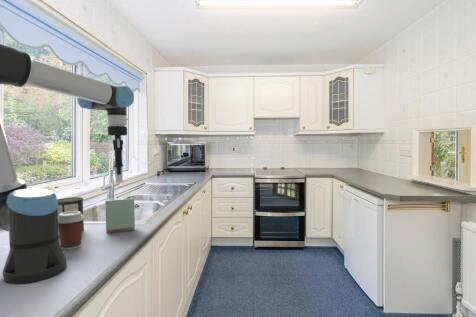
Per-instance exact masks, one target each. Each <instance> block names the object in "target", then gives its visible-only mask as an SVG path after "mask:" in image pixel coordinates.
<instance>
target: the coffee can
mask: <svg viewBox="0 0 476 317" xmlns="http://www.w3.org/2000/svg"><path fill="white" fill-rule="evenodd" d="M83 200H84V198H83V197H79V196H78V197H76V196H75V197H64V198H59V199H58V198H57V202H58V217H59V214H60V213H63V212H69V211H80V212H81V214H82V215H83V216H84V202H83ZM84 220H85V219H84ZM84 220H83V221H82V235H83V234H84V233H85V224H84ZM58 235H59V229H58ZM59 238H60V236H59Z"/></svg>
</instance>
